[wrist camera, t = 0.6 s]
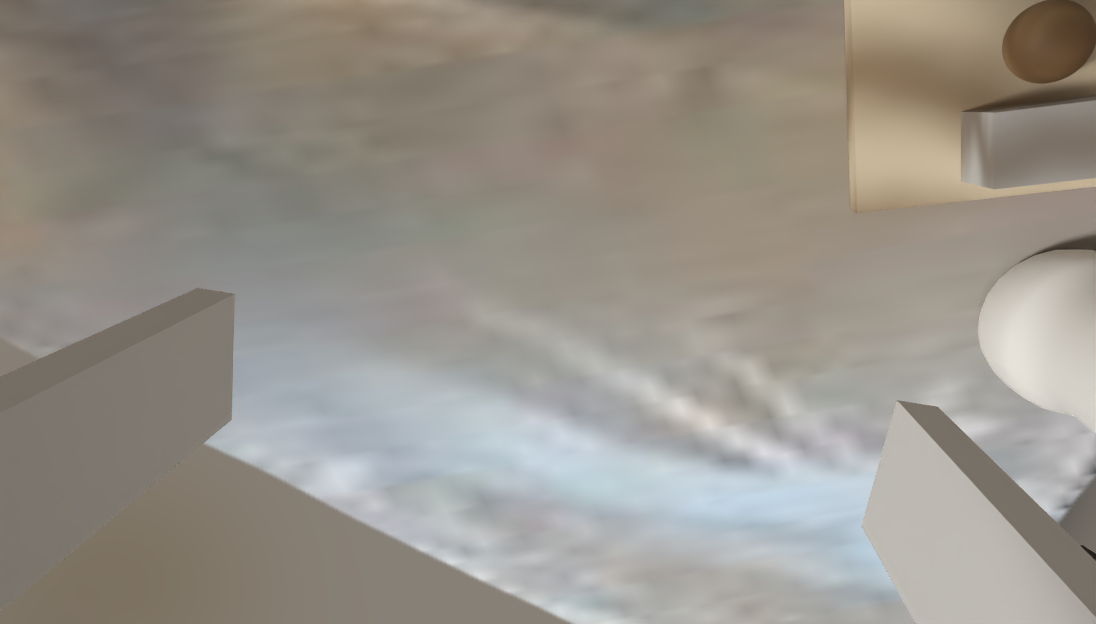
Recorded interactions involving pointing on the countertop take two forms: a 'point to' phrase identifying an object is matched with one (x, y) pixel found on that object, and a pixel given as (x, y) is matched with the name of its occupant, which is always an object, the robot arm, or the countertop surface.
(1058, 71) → the brown ball
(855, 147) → the board
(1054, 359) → the bottle
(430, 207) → the countertop surface
